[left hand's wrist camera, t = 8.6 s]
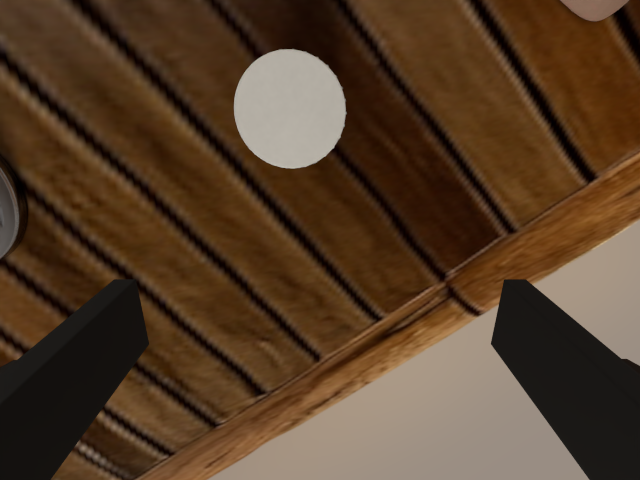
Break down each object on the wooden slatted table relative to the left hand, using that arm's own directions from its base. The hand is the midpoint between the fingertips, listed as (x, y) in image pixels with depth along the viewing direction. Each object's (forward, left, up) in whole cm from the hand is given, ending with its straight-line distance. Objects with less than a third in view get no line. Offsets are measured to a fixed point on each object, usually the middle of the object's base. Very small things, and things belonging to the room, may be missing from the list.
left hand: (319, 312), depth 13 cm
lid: (-6, +4, -8) cm, 11 cm away
